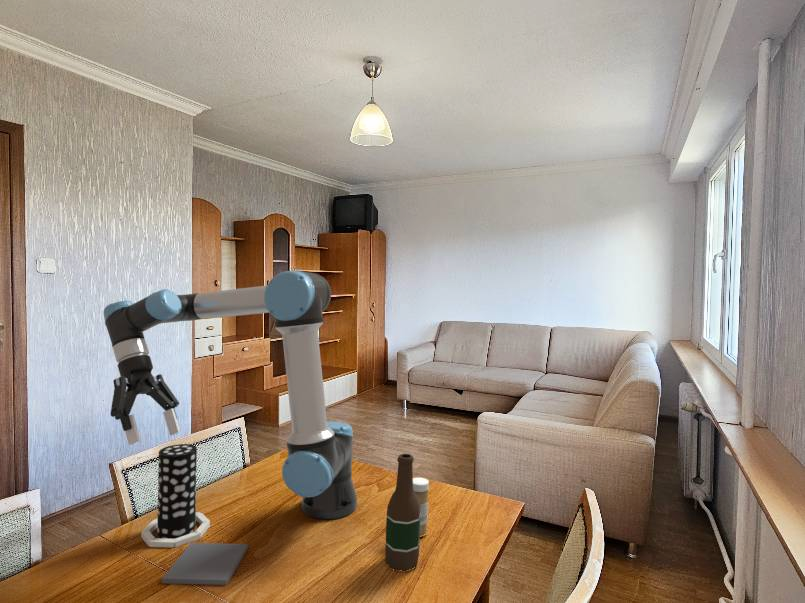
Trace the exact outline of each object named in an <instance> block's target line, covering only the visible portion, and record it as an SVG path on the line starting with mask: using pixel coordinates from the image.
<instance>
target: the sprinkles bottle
mask: <svg viewBox="0 0 805 603" xmlns="http://www.w3.org/2000/svg"><path fill="white" fill-rule="evenodd" d="M429 483H430V481H429V480H428V479H427V478H424V477H413V488H414V492H415V493H416V495H417V497H418V499H419V502H420V509H421V516H420V536H422V535H424V534H426V532H427V533H428V531H427V530H428V528H427V526H428V513H429V510H428V508H429V500H428V497H429V495H428V494H429V490H430V489H429V488H430V484H429Z"/></svg>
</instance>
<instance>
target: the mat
mask: <svg viewBox="0 0 805 603" xmlns="http://www.w3.org/2000/svg"><path fill="white" fill-rule="evenodd" d="M248 549H249V544H248V543H221V542H220V543H218V542H217V543H215V542H190V543H189V544H188V546H187V547H186V548H185V550H183V552H182V553H181V555H180V556H179V557H178V558H177V559H176V560H175V562H174V563H173V565H172V566H171V567H170V568H169V569H168V571H167V572H166V573H165V574H164V575H163V576H162V578H161V583H162V584H175V585H176V584H178V585H183V584H184V585H211V586H212V585H216V586H217V585H218V586H219V585H220V586H227V585H228V583H229V581H230V580H231V578H232V577H233V575H234V573H235V571H236V570H237V568H238V566H239V565H240V563H241V561H242V559H243V557H244V556H245V554H246V552H247V551H248Z"/></svg>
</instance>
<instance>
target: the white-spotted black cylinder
mask: <svg viewBox="0 0 805 603" xmlns="http://www.w3.org/2000/svg"><path fill="white" fill-rule="evenodd" d="M197 450H198V448H197V446H196V445H194V444H189V443H188V444H187V443H182V444H171V445H169V446H165V447H163V448H161V449H160V450H158V469H157V470H158V473H157V476H158V477H157V480H158V481H157V482H158V483H157V518H158V526H157V528H156V529H157V532H156V533H157V534H156V536H157V538H165V539H176V538H179V537H182V536H185V535H187V534H190V533H193V532H195V531H196V520H195V516H196V512H197V511H196V507H197V506H196V504H197V501H196V500H197V461H198V460H197V458H198V457H197V456H198V454H197V453H198V451H197Z"/></svg>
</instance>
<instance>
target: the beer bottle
mask: <svg viewBox="0 0 805 603" xmlns="http://www.w3.org/2000/svg"><path fill="white" fill-rule="evenodd" d="M396 461H397V462H398V465H397V474H396V484H395V485H396V486H395V488H394V491H393V493H392V494H391V497H390V499H389V501H388V504H387V508H386V520H385V521H386V522H385V549H384V550H385V553H384V554H385V555H384V558H385V559H384V560H385V565H387V564H388V565H389V566H390V567H391V568H392V570H393V569H394V570H393V571H395V570H402V571H401V572H403V571H407V570H409V569H412V568H414V567H416V566H417V567H418V563H419V559H418V558H419V557H420V545H421V544H420V542H421V540H420V516H421V509H420V502H419V499H418V497H417V495H416V493H415V492H414V488H413V478H414V474H413V473H414V472H413V470H414V469H413V463H414V461H415V459H414V455H412V454H409V453H401V454H399V455H398V457H397V459H396ZM388 565H387V566H388ZM389 566H388V567H389ZM390 567H389V568H390ZM417 567H416V568H417ZM391 568H390V569H391ZM414 569H415V568H414ZM412 570H413V569H412ZM409 571H410V570H409ZM407 572H408V571H407Z"/></svg>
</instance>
